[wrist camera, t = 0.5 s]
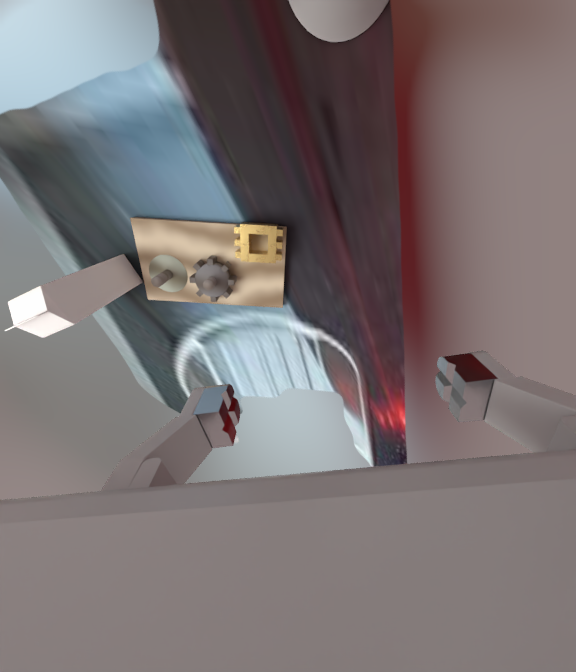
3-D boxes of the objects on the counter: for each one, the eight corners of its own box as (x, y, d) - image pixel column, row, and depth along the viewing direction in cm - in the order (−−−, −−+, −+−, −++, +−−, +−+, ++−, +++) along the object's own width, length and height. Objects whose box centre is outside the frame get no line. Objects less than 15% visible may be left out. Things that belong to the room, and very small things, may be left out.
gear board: (134, 217, 47) (112, 221, 41) (286, 226, 47) (285, 231, 41) (151, 296, 54) (134, 309, 49) (282, 304, 54) (281, 318, 49)
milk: (143, 281, 53) (58, 336, 34) (119, 292, 54) (23, 351, 35) (123, 252, 50) (18, 294, 31) (98, 264, 51) (-18, 311, 32)
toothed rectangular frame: (237, 221, 45) (233, 223, 43) (283, 224, 45) (283, 226, 43) (238, 257, 48) (235, 261, 46) (282, 259, 48) (281, 263, 46)
